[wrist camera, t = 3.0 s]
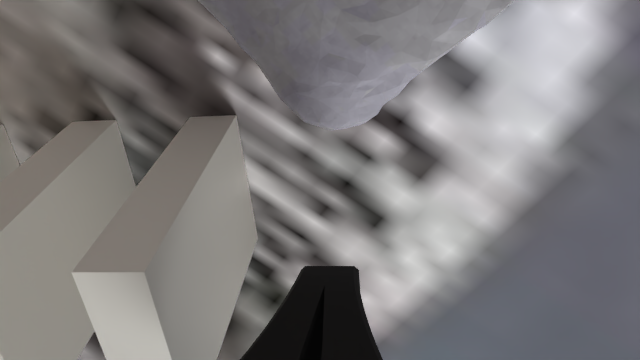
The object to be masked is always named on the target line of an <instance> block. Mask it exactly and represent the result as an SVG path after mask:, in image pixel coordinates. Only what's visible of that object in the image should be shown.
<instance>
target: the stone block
mask: <svg viewBox="0 0 640 360" xmlns="http://www.w3.org/2000/svg"><path fill="white" fill-rule="evenodd" d="M198 1H199V2H200V3H201V4H202V5H203V6H204V7H205V8H206V9H207V10H208V11H209V12H210V13H211V14H212V15H213V16H214V17H215V18H216V19H217V20H218V21H219V22H220V23H221V24H222V25H223V26H224V27H225V28H226V29H227V30H228V31H229V33H230V34H231V35H232V36H233V38H234V39H235V40H236V42H237V43H238V44H239V45H240V47H241V48H242V49H243V50H244V51H245V52H246V53H247V54H248V55H249V56H250V57H252V58H253V59H254V60H255V61H256V63H257V64H258V66H259V67H260V69H261V70H262V72H263V73H264V75H265V76H266V78H267V79H268V81H269V82H270V84H271V85H272V87H273V88H274V90H275V92H276V93H277V95H278V96H279V98H280V99H281V100H282V101H283V102H284V103H285V104H286V105H287V106H288V107H289V108H290V109H291V110H292V111H293V112H294V113H295V114H296V115H297V116H298V117H299V118H300V119H302V120H303V121H304V122H306V123H309V124H312V125H315V126H318V127H322V128H325V129H328V130H340V129H345V128H349V127H354V126H358V125H361V124H363V123H365V122H367V121H368V120H370V119H371V118H372V117H374V116H375V115H377V114H378V113H379V111H380V109H381V107H382V106H383V105H384V104H385V103H386V102H388V101H389V100H391V99H392V98H394V97H395V96H397V95H398V94H399V93H400V92H401V91H402V90H403V88H404V87H405V86H406V85H407V84H408V82H409V81H410V80H412V79H413V78H414V77H415V76H417V75H418V74H419V73H421V72H422V71H423V70H424V69H426V68H427V67H428V66H430V65H431V64H432V63H434V62H435V61H437V60H438V59H439V58H441V57H442V56H443V55H445V54H446V53H448V52H449V51H450V50H451V49H453V48H454V47H455V46H456V45H458V44H459V43H460V42H462V41H463V40H464V39H466V38H467V37H468V36H470V35H471V34H472V33H474V32H475V31H477V30H478V29H480V28H482V27H484V26H485V25H487V24H488V23H489V22H490V21H491V20H493V19H494V18H495V17H496V16H497V15H498V14H500V13H501V12H502V11H503V10H504V9H505V8H507V7H508V6H509V5H510V4H511V3H513V2H514V1H515V0H198Z"/></svg>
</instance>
